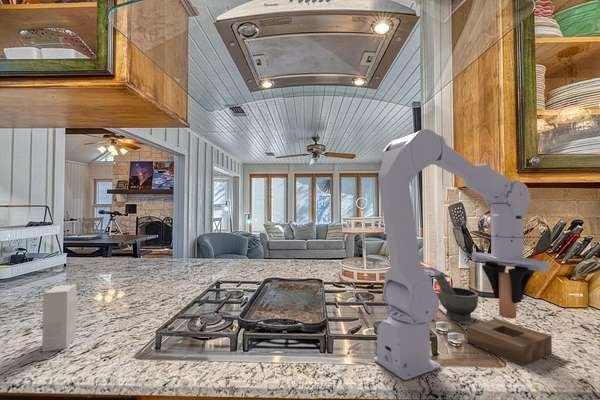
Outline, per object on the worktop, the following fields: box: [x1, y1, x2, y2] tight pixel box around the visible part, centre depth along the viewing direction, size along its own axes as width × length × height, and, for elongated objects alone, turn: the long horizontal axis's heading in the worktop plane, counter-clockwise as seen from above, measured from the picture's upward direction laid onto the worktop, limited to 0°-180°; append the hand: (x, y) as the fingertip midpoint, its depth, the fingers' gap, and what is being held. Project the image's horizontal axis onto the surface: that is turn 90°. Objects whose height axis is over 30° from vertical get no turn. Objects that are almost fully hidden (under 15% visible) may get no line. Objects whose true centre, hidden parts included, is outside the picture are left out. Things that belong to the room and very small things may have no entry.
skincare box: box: [41, 284, 78, 353], centre depth 65 cm, size 6×4×12 cm
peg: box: [498, 271, 517, 320], centre depth 64 cm, size 3×3×9 cm
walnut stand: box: [466, 318, 553, 367], centre depth 64 cm, size 11×11×4 cm
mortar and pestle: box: [433, 271, 479, 322], centre depth 83 cm, size 11×9×12 cm
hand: (507, 299), depth 64 cm, fingers closed on peg, 3 cm apart
